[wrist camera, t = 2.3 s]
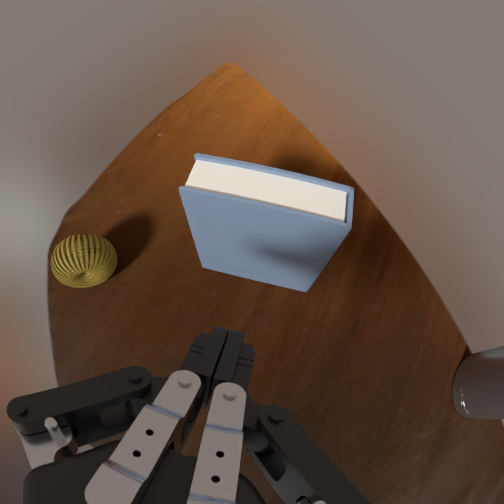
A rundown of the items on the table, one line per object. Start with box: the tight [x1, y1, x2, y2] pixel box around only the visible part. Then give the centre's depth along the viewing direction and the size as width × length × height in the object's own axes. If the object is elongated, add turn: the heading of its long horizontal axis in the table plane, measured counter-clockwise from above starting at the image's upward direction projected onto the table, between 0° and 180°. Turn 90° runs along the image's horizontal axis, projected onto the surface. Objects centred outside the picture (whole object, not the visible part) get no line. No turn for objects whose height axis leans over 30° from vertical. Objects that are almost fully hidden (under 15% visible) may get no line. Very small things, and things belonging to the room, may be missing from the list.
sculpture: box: [51, 234, 117, 288], centre depth 29 cm, size 8×4×8 cm, turn 112°
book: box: [179, 153, 354, 292], centre depth 27 cm, size 4×12×15 cm, turn 76°
